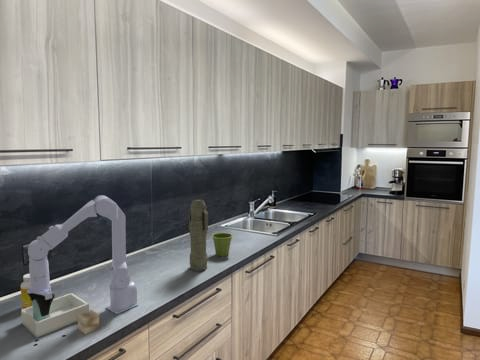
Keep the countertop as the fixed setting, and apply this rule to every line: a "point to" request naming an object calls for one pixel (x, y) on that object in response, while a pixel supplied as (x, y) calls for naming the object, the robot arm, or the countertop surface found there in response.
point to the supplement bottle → (25, 292)
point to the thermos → (198, 235)
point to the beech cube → (88, 321)
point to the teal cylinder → (38, 312)
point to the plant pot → (222, 243)
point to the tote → (55, 315)
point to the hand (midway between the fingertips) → (41, 312)
